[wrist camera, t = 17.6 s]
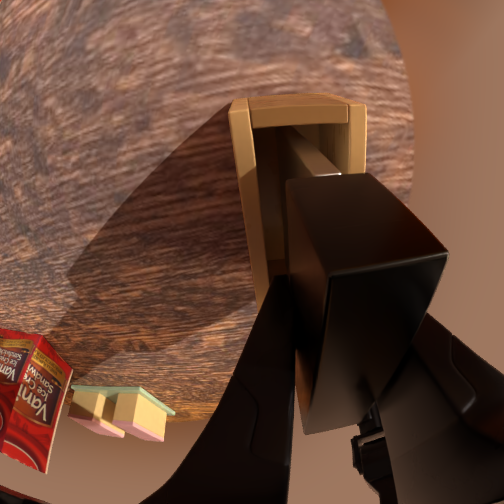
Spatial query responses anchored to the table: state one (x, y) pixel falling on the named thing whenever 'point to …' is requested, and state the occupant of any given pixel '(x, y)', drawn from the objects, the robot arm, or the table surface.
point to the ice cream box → (30, 396)
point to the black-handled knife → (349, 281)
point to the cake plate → (113, 392)
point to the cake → (94, 413)
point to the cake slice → (139, 417)
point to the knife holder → (267, 169)
